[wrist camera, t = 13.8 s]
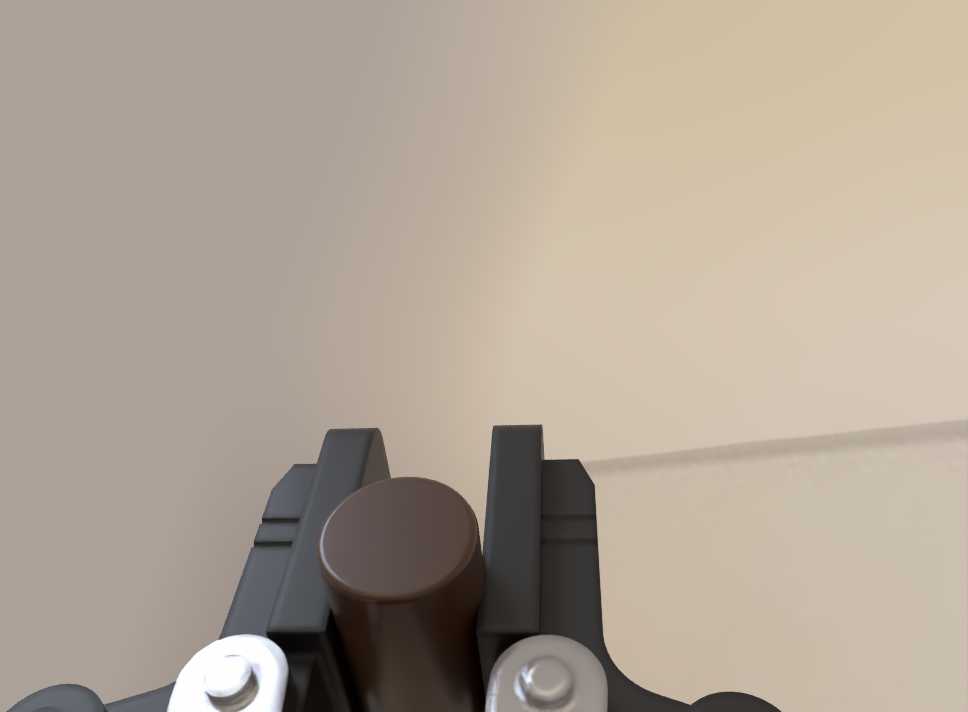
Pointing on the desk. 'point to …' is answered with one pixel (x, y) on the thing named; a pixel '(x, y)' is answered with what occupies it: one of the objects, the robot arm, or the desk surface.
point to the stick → (406, 595)
